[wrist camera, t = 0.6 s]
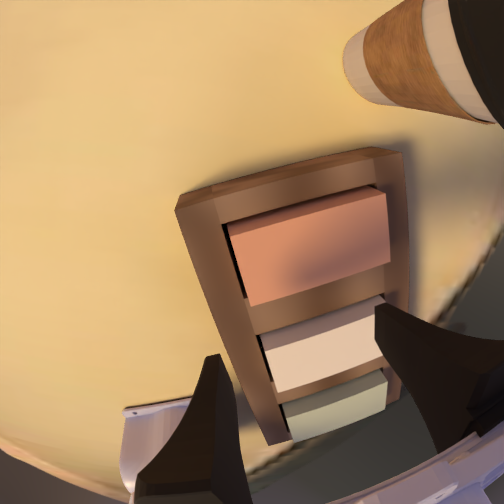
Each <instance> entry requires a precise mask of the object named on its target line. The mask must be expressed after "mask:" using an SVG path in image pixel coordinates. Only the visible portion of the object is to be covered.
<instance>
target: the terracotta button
mask: <svg viewBox="0 0 504 504" xmlns="http://www.w3.org/2000/svg"><path fill="white" fill-rule="evenodd" d="M227 227H228V232H229V236H230V239H231V243H232V246H233V249H234V253H235V256H236V259H237V263H238V266H239V269H240V273H241V276H242V279H243V283H244V286H245V289H246V292H247V296H248V299H249V302H250V306H251V307H252V306H255V305H259V304H262V303H265V302H269V301H272V300H275V299H279V298H282V297H285V296H288V295H292V294H295V293H298V292H301V291H304V290H308V289H311V288H314V287H317V286H320V285H323V284H326V283H329V282H332V281H335V280H338V279H341V278H344V277H347V276H350V275H353V274H356V273H359V272H362V271H365V270H368V269H371V268H374V267H377V266H379V265H382V264H385V263H388V262H391V261H390V241H389V226H388V214H387V203H386V193H383V192H381V191H379V190H376V189H374V188H372V187H369V186H367V185H363V186H359V187H355V188H351V189H348V190H344V191H340V192H336V193H332V194H328V195H324V196H321V197H317V198H313V199H309V200H305V201H302V202H298V203H294V204H291V205H287V206H283V207H280V208H276V209H273V210H269V211H265V212H262V213H258V214H255V215H251V216H248V217H244V218H241V219H237V220H234V221H230V222H227Z"/></svg>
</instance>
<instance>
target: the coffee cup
mask: <svg viewBox="0 0 504 504" xmlns="http://www.w3.org/2000/svg"><path fill="white" fill-rule="evenodd" d="M343 67H344V71H345V74H346V77H347V79H348V81H349V83H350V84H351V86H352V87H353V88H354V90H355V91H356V92H357V93H358V94H359V95H361V96H362V97H363V98H364V99H366V100H368V101H370V102H372V103H375V104H380V105H389V106H399V107H405V108H411V109H417V110H423V111H429V112H434V113H439V114H444V115H449V116H453V117H458V118H462V119H467V120H471V121H475V122H479V123H482V124H495V123H499V124H500V126H501V127H502V128H503V129H504V0H404V1H403V2H401V3H400V4H398V5H397V6H396V7H394V8H393V9H391V10H390V11H388V12H387V13H385V14H384V15H382V16H381V17H380V18H378V19H377V20H375V21H374V22H373V23H372V24H370V25H369V26H367V27H366V28H364V29H363V30H361V31H360V32H358V33H357V34H356V35H354V36H353V37H352V38H351V39H350V40H349V41H348V43H347V44H346V46H345V49H344V52H343Z"/></svg>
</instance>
